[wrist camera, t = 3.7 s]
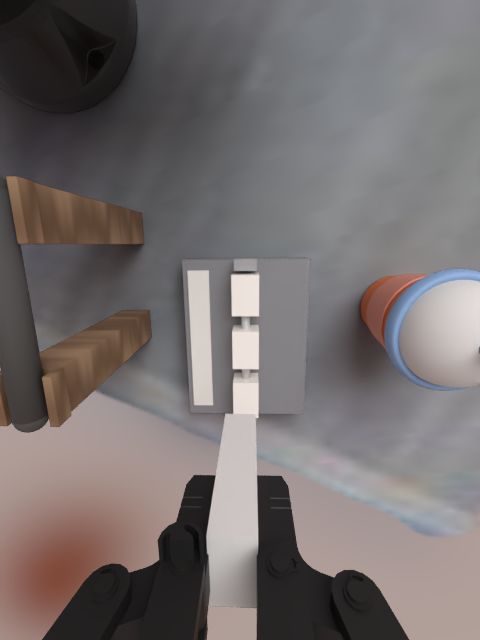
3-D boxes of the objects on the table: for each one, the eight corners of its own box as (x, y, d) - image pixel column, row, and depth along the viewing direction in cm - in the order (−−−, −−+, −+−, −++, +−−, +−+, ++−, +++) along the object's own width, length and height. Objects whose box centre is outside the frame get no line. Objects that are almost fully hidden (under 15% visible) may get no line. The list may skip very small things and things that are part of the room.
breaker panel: (188, 257, 32) (176, 259, 27) (305, 256, 31) (315, 258, 26) (195, 399, 36) (186, 424, 31) (299, 400, 35) (306, 425, 30)
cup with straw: (328, 301, 32) (417, 369, 15) (400, 242, 31) (600, 239, 13) (379, 362, 34) (516, 490, 16) (451, 309, 32) (692, 388, 14)
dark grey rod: (-19, 173, 15) (-54, 164, 14) (16, 173, 15) (-15, 163, 13) (29, 420, 19) (6, 439, 17) (58, 421, 18) (38, 439, 17)
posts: (109, 213, 31) (-57, 177, 14) (144, 213, 31) (16, 176, 14) (122, 336, 34) (-2, 426, 17) (154, 336, 34) (59, 426, 17)
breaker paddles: (232, 272, 28) (231, 275, 26) (258, 272, 28) (259, 275, 26) (234, 404, 32) (233, 417, 29) (258, 405, 32) (258, 417, 29)
